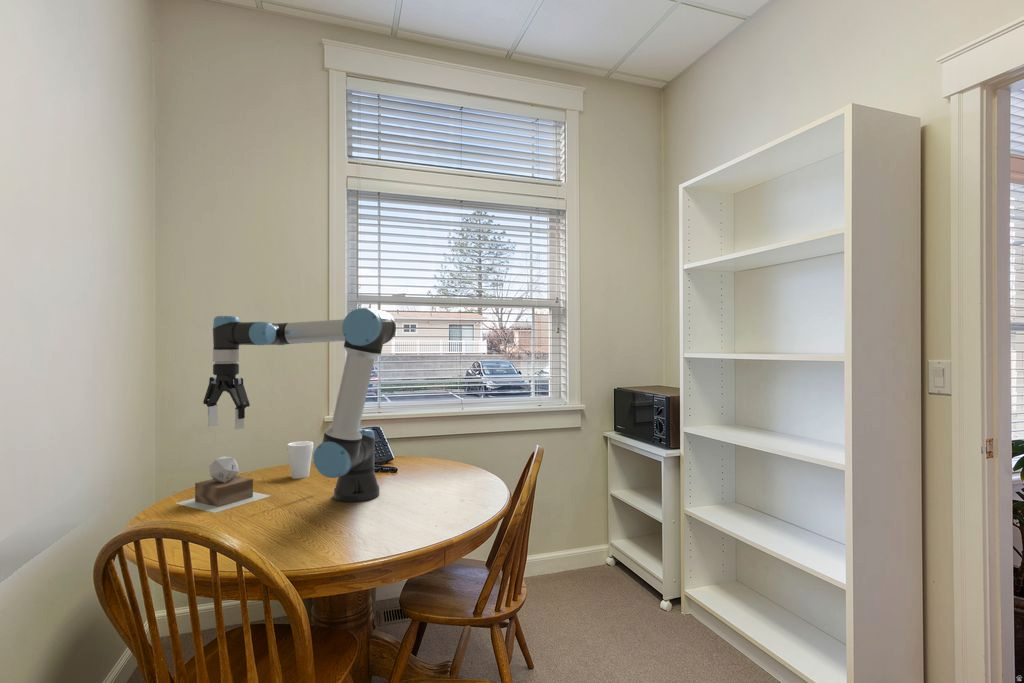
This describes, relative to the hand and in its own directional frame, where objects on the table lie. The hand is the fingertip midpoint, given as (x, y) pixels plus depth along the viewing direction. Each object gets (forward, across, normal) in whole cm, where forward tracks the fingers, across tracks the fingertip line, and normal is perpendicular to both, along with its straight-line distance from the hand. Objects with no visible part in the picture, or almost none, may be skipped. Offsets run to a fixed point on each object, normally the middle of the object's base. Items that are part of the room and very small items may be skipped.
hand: (225, 427), depth 172 cm
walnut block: (+24, 0, 0) cm, 24 cm away
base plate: (+25, 0, 0) cm, 25 cm away
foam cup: (+25, +5, -35) cm, 43 cm away
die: (+18, +1, 0) cm, 18 cm away
